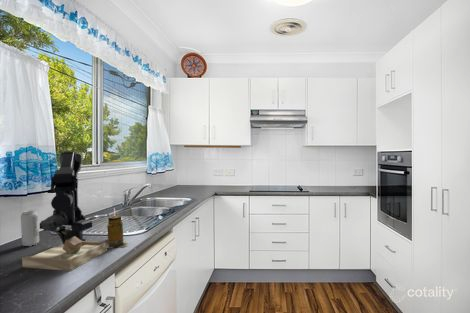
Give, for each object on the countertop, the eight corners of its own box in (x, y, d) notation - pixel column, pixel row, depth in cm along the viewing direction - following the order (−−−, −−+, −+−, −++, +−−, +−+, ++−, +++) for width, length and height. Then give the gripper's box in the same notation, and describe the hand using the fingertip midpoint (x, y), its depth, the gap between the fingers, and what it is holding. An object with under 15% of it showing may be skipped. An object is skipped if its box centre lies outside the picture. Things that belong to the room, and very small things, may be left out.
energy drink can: (26, 243, 120) (24, 210, 120) (41, 241, 122) (40, 208, 122) (19, 247, 115) (17, 213, 114) (35, 246, 116) (33, 211, 116)
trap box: (65, 248, 112) (64, 240, 112) (106, 250, 108) (106, 242, 108) (22, 267, 94) (22, 257, 94) (70, 270, 90) (69, 260, 90)
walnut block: (71, 245, 103) (74, 236, 102) (79, 250, 102) (82, 241, 102) (62, 248, 99) (65, 239, 99) (70, 254, 98) (74, 245, 98)
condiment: (110, 242, 118) (109, 215, 117) (130, 241, 119) (129, 214, 118) (104, 248, 110) (103, 219, 110) (125, 247, 111) (124, 218, 111)
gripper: (24, 209, 95) (25, 253, 95) (68, 211, 91) (69, 257, 91) (52, 203, 106) (53, 242, 106) (92, 205, 101) (93, 245, 102)
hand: (66, 247), depth 101 cm, fingers closed, pressing on walnut block
